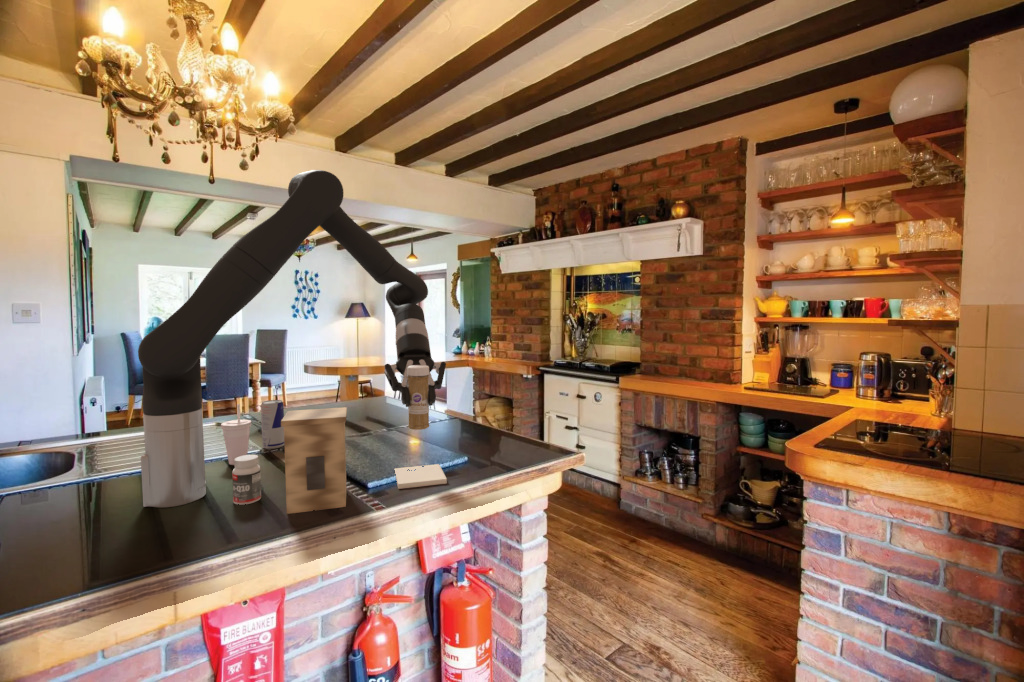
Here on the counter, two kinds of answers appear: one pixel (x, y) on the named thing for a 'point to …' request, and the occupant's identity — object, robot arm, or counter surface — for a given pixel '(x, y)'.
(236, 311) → the robot arm
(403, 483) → the tile
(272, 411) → the energy drink
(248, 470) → the pill bottle
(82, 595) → the counter surface
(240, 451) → the smoothie
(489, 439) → the counter surface
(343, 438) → the box
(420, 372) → the sprinkles bottle
